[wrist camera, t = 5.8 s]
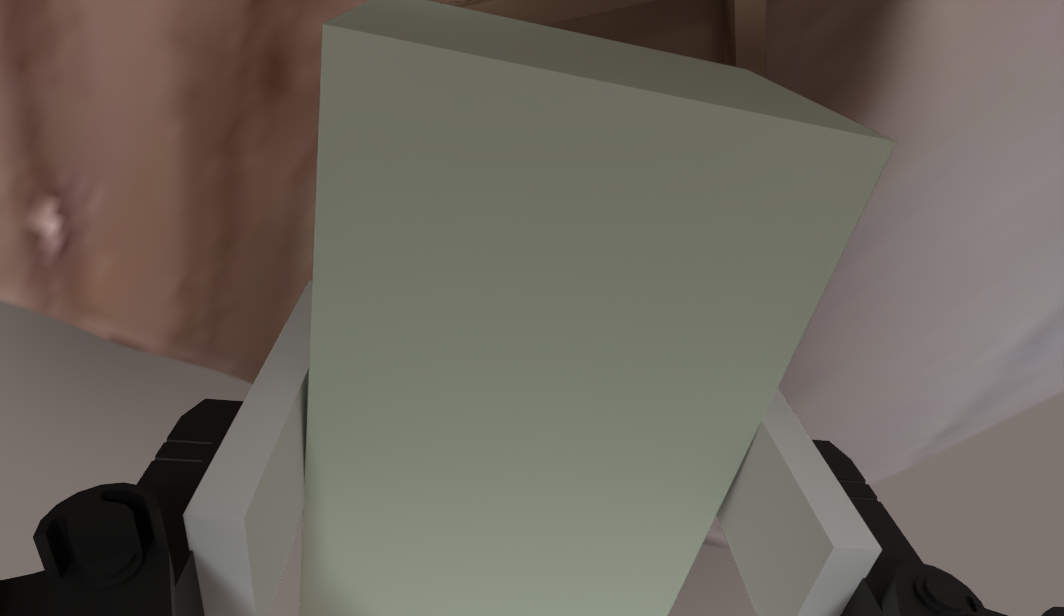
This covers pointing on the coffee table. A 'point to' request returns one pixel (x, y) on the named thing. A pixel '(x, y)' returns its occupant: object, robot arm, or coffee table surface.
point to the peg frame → (654, 24)
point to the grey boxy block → (548, 307)
